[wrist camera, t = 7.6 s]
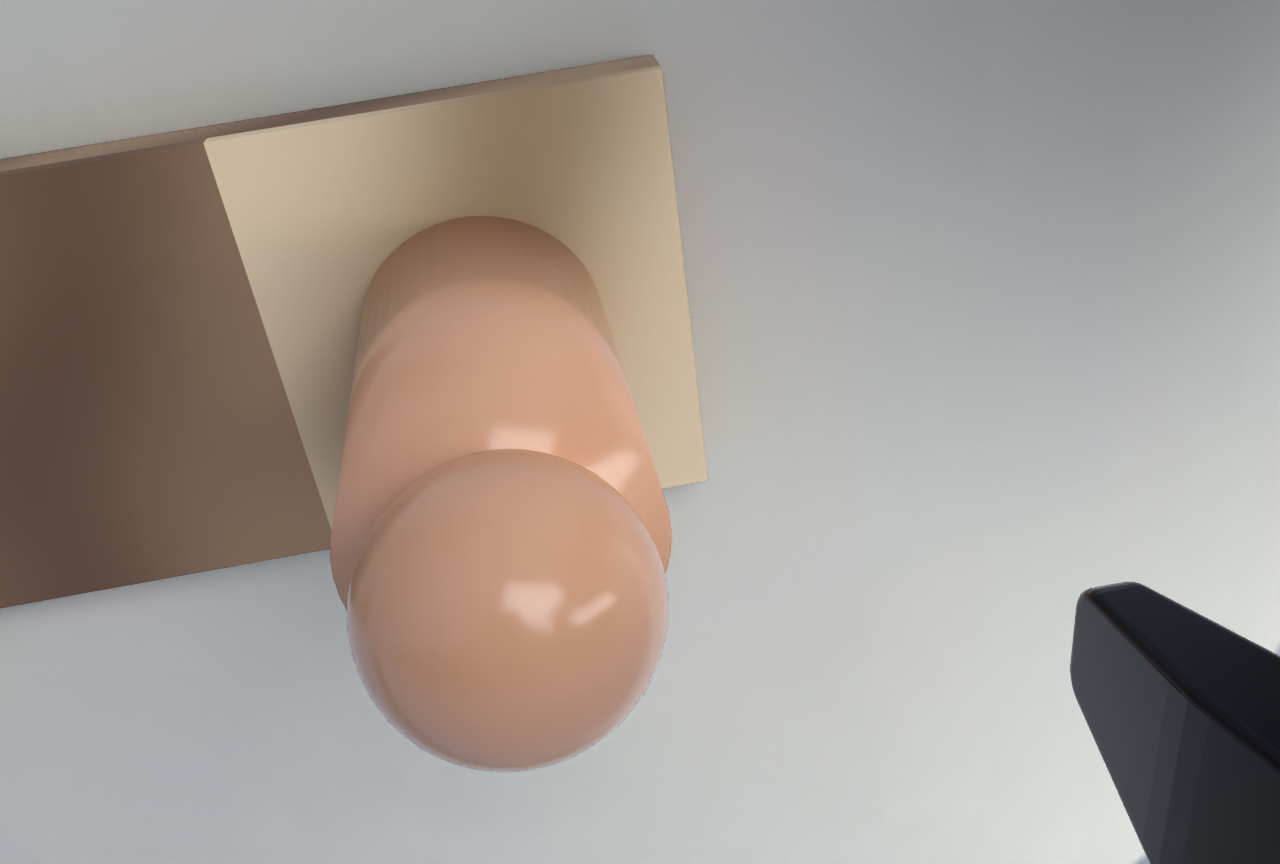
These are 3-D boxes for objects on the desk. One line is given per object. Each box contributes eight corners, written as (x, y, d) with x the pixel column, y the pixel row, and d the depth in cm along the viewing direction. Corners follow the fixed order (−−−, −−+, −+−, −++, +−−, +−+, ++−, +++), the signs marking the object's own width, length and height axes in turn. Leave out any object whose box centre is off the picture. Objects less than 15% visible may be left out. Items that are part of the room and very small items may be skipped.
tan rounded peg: (594, 202, 14) (716, 523, 8) (612, 420, 16) (725, 824, 10) (337, 231, 14) (263, 588, 8) (383, 450, 16) (351, 888, 9)
